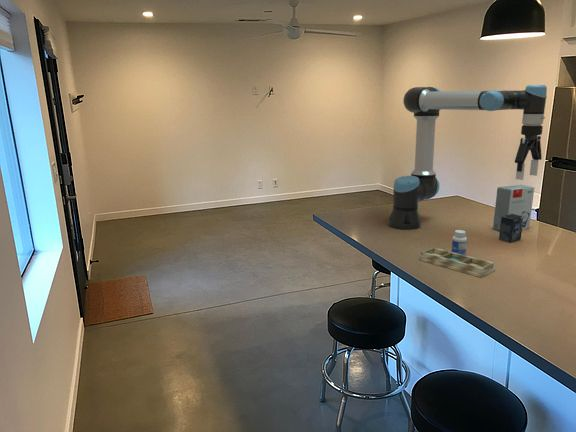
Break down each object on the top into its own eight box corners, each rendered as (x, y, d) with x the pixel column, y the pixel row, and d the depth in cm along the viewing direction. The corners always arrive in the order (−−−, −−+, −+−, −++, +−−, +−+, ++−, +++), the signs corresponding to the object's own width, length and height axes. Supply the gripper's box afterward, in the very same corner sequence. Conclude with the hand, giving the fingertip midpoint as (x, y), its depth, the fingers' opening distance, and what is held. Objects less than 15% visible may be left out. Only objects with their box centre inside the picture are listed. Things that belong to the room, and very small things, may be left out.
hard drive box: (505, 233, 212) (509, 189, 207) (492, 228, 219) (496, 187, 214) (530, 228, 218) (534, 186, 213) (516, 224, 225) (520, 184, 220)
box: (510, 242, 198) (513, 218, 196) (498, 239, 203) (500, 216, 200) (521, 239, 203) (523, 216, 200) (509, 236, 207) (511, 213, 205)
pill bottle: (448, 253, 187) (450, 229, 185) (462, 252, 188) (463, 229, 185) (454, 257, 182) (456, 233, 180) (468, 257, 182) (470, 233, 180)
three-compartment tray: (418, 259, 180) (419, 252, 179) (433, 253, 186) (433, 246, 186) (481, 277, 162) (482, 269, 161) (495, 270, 168) (495, 262, 167)
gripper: (529, 127, 177) (523, 182, 182) (554, 123, 193) (547, 174, 198) (509, 126, 182) (503, 180, 188) (535, 122, 198) (529, 172, 204)
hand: (526, 177), depth 193 cm, fingers open, 13 cm apart
